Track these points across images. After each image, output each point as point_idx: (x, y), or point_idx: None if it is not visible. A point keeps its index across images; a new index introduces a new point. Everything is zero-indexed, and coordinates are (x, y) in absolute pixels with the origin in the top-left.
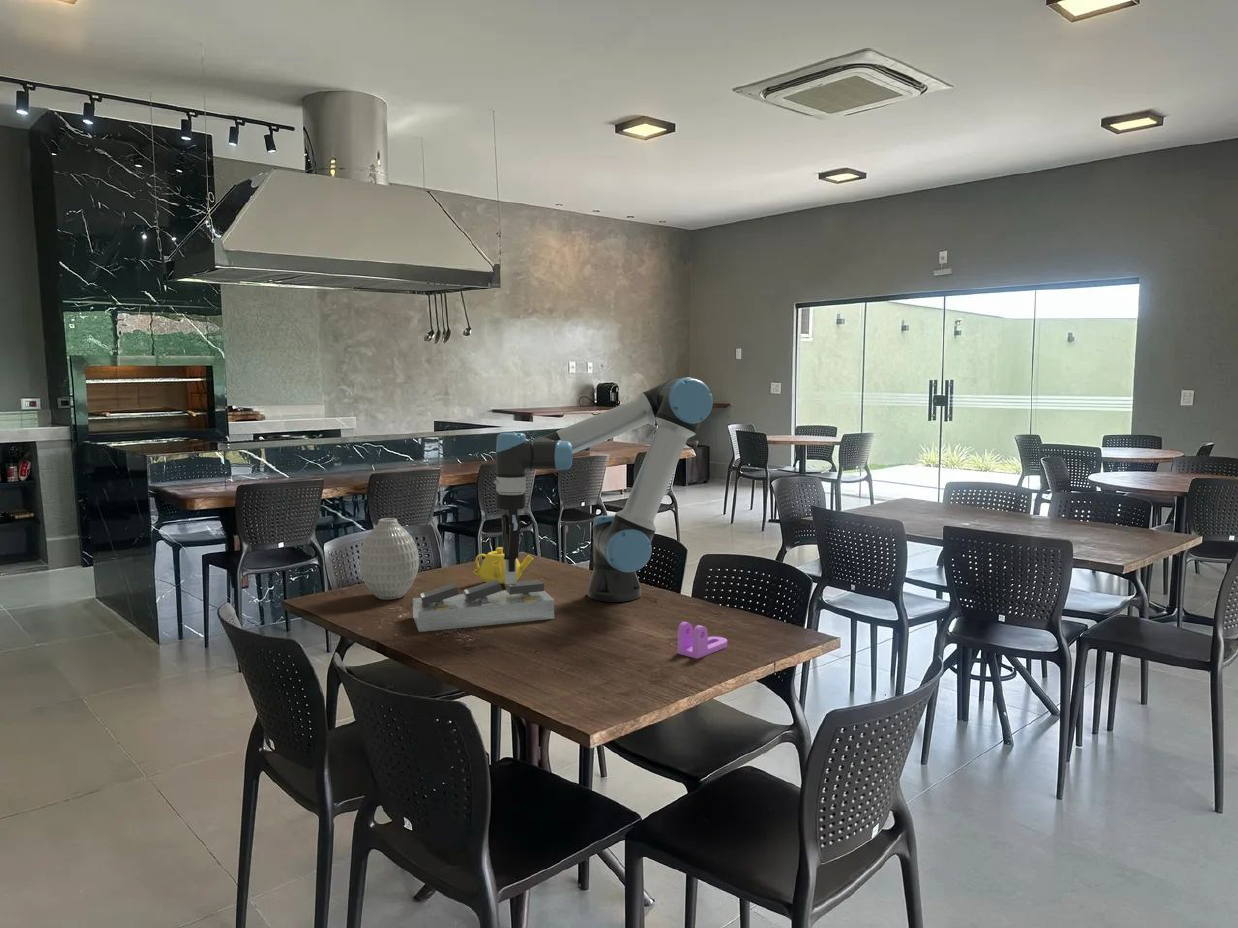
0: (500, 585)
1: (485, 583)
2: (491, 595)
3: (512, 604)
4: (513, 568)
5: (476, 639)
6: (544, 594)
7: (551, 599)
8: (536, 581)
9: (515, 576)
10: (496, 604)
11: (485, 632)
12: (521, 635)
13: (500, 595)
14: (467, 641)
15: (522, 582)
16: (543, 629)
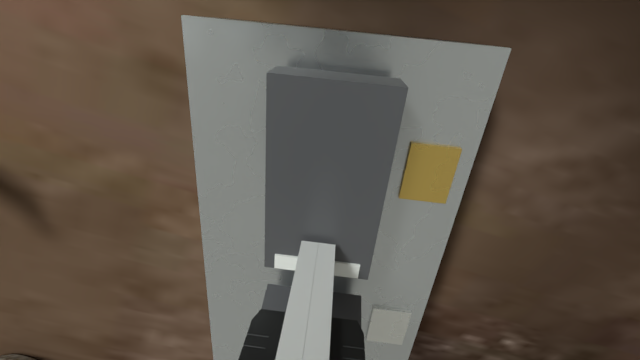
0: (360, 323)
1: None
2: (272, 278)
3: (441, 249)
4: (363, 349)
5: (521, 332)
6: (365, 59)
7: (500, 62)
8: (317, 111)
9: (332, 276)
10: (422, 303)
11: (474, 299)
12: (585, 230)
13: None
14: (521, 351)
15: (300, 196)
16: (581, 142)
